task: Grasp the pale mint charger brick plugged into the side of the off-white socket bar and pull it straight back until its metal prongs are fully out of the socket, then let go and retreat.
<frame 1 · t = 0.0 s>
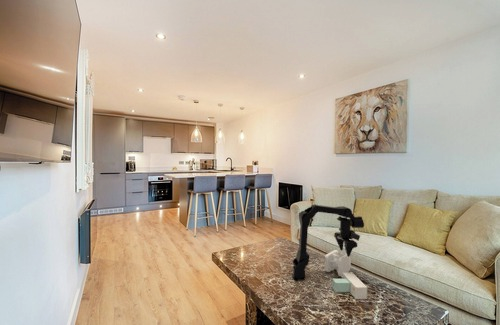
hand: (344, 253, 139), 15 cm above the table, fingers open, 9 cm apart
cable organizer: (337, 272, 146), on the table
socket bar: (353, 290, 125), on the table
charger: (343, 285, 125), point 3 cm above the table, slide at 0.0 cm
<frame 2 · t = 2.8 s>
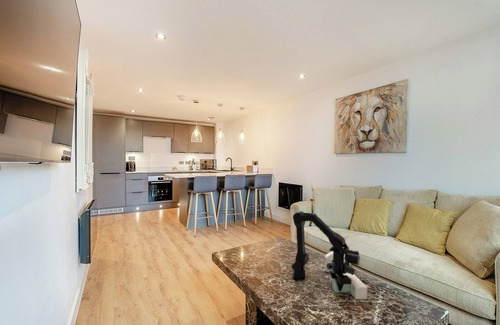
hand: (338, 288, 125), 1 cm above the table, fingers closed on charger, 4 cm apart
charger: (343, 285, 125), point 3 cm above the table, slide at 0.0 cm, touching gripper
everything else where it was.
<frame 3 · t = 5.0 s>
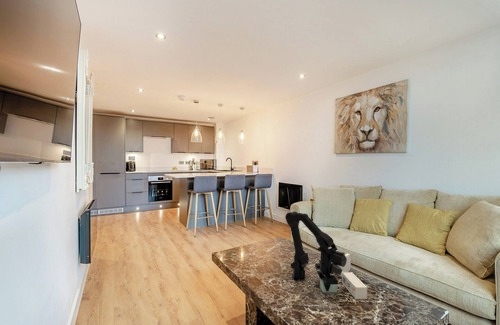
hand: (325, 288, 125), 1 cm above the table, fingers closed on charger, 4 cm apart
charger: (330, 285, 125), point 3 cm above the table, slide at 6.9 cm, touching gripper
everything else where it was.
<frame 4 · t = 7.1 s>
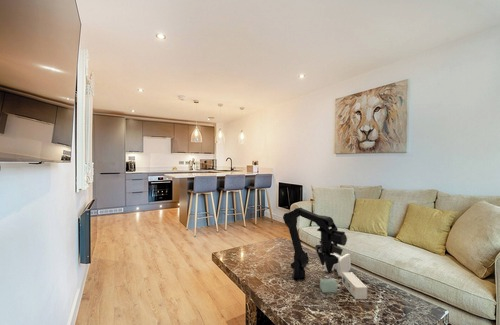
hand: (325, 269, 125), 12 cm above the table, fingers open, 9 cm apart
charger: (330, 285, 125), point 3 cm above the table, slide at 7.0 cm
everything else where it was.
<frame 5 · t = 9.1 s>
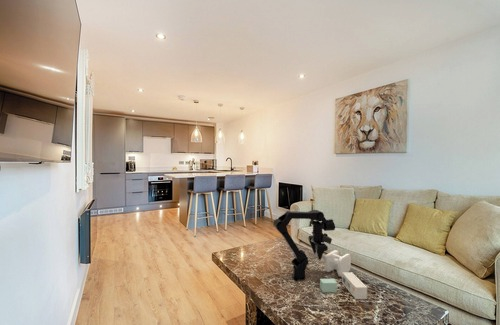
hand: (317, 256, 141), 12 cm above the table, fingers open, 9 cm apart
nothing on the table moved.
at the end: charger slide at 7.0 cm; the gripper is holding nothing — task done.
